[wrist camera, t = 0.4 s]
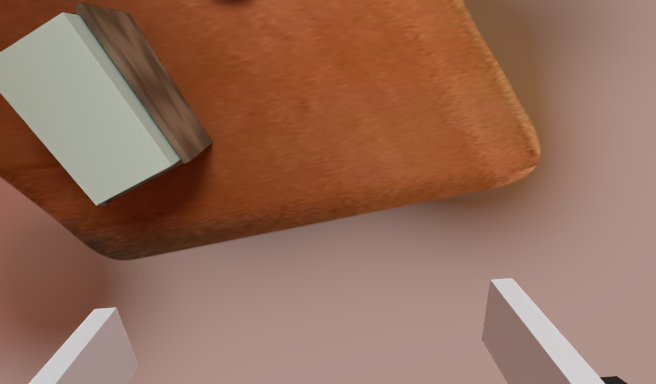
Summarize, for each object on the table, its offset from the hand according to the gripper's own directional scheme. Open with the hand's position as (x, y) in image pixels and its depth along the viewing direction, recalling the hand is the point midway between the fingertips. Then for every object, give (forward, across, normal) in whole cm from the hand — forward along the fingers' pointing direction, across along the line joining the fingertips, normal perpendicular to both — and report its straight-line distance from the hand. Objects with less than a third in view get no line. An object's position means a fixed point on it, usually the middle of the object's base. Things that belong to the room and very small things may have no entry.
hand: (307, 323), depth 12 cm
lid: (+21, -18, +5) cm, 28 cm away
